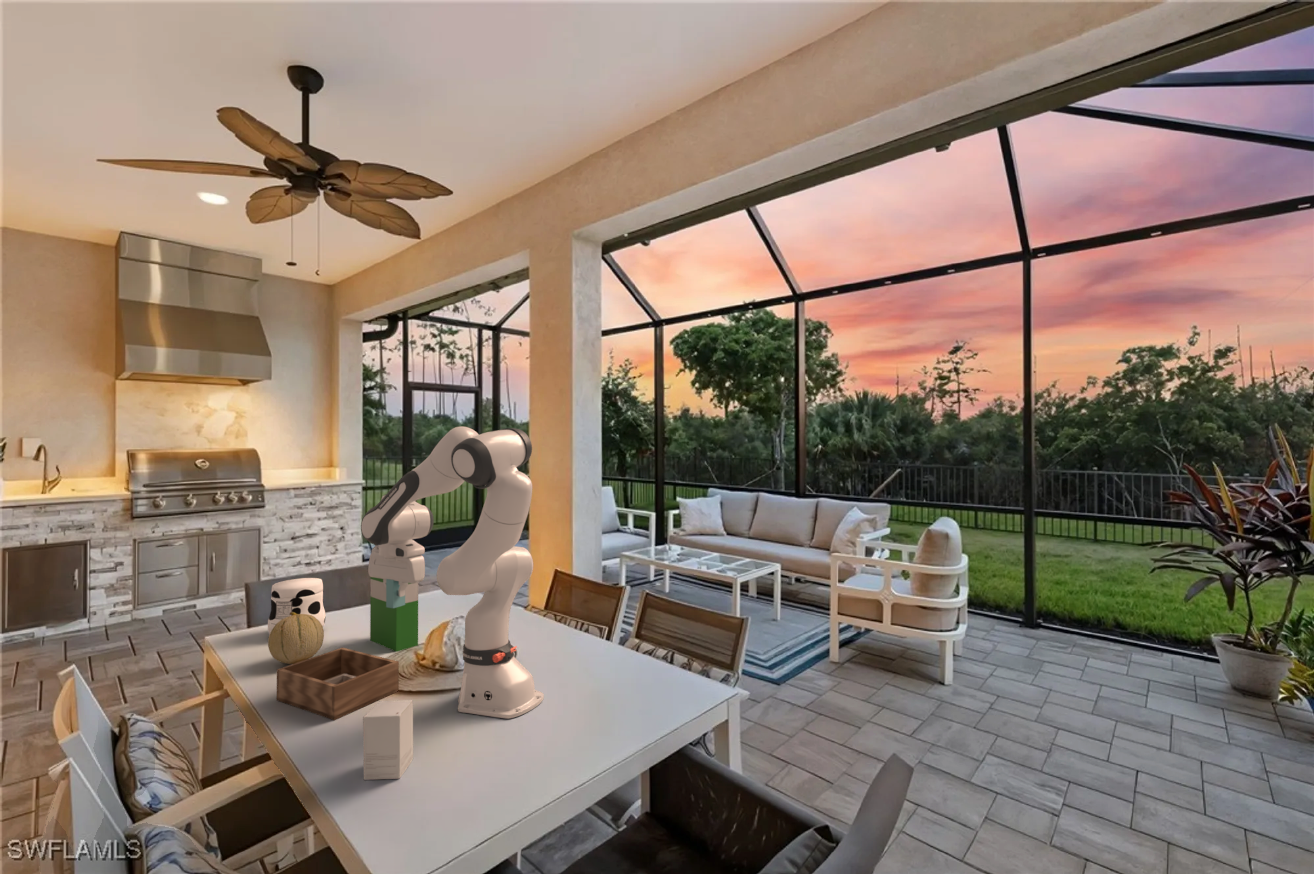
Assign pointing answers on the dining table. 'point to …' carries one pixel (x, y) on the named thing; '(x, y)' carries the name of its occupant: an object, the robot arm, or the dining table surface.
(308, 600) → the milk container
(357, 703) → the walled box
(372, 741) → the supplement box
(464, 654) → the robot arm
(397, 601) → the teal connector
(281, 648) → the cantaloupe
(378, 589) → the hardback book
